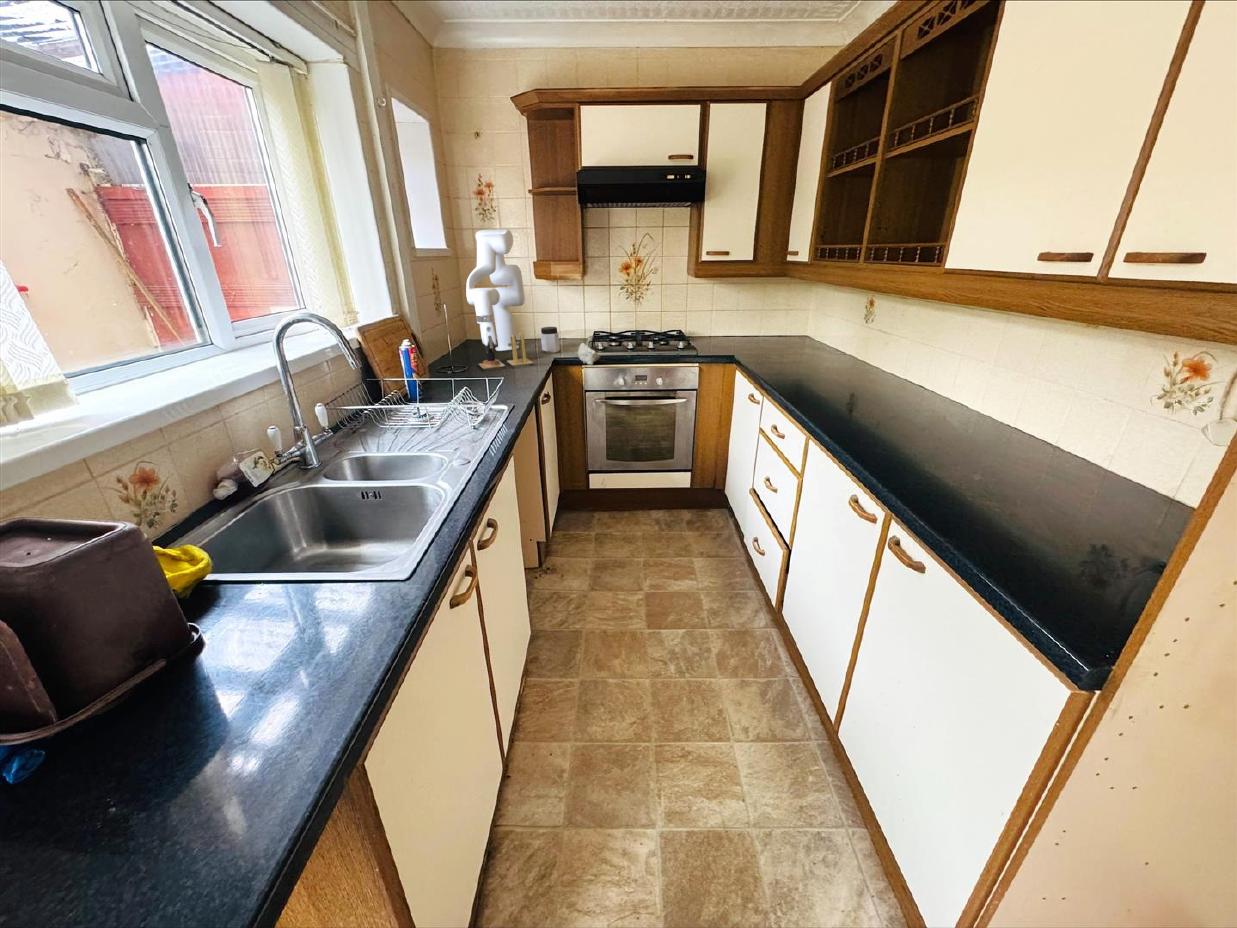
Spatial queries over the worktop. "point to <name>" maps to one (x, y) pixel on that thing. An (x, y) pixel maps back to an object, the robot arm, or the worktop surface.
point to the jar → (550, 339)
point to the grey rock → (587, 354)
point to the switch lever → (517, 338)
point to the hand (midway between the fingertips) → (490, 360)
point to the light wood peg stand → (514, 351)
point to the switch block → (491, 364)
